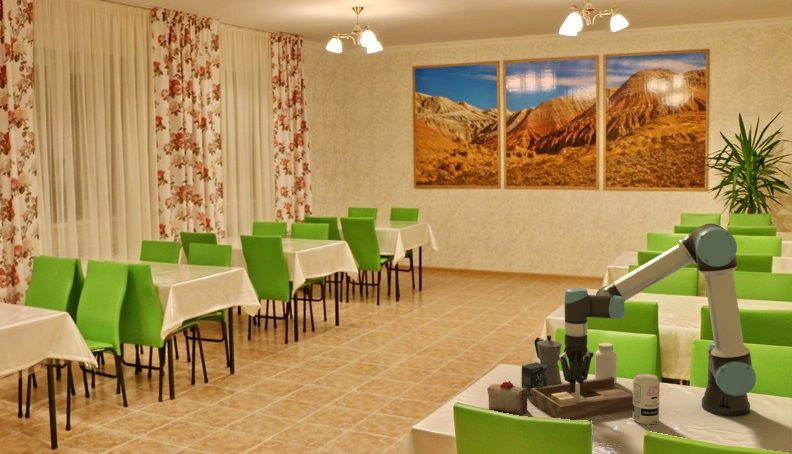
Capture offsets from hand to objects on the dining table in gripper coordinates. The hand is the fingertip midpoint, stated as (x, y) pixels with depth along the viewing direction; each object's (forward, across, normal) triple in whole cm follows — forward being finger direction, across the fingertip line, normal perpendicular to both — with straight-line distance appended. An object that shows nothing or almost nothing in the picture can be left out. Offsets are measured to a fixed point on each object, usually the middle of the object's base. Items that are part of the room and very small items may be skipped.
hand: (575, 400), depth 253 cm
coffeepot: (+4, -8, -33) cm, 34 cm away
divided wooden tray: (+4, -7, -4) cm, 9 cm away
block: (+2, +5, 0) cm, 5 cm away
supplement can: (+4, -16, +16) cm, 23 cm away
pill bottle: (+4, -27, -22) cm, 35 cm away
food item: (+4, +21, -10) cm, 24 cm away
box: (+4, +4, -22) cm, 22 cm away
